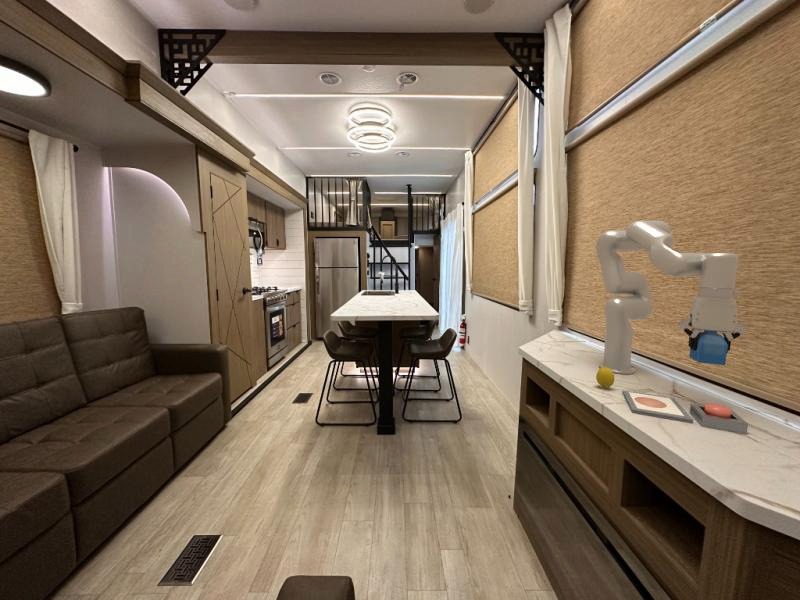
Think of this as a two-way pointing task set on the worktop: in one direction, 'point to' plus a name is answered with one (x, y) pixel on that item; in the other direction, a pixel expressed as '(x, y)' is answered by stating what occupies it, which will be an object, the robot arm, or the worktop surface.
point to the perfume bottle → (710, 348)
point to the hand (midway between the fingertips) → (708, 350)
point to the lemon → (605, 377)
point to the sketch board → (656, 406)
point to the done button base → (718, 420)
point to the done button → (717, 410)
